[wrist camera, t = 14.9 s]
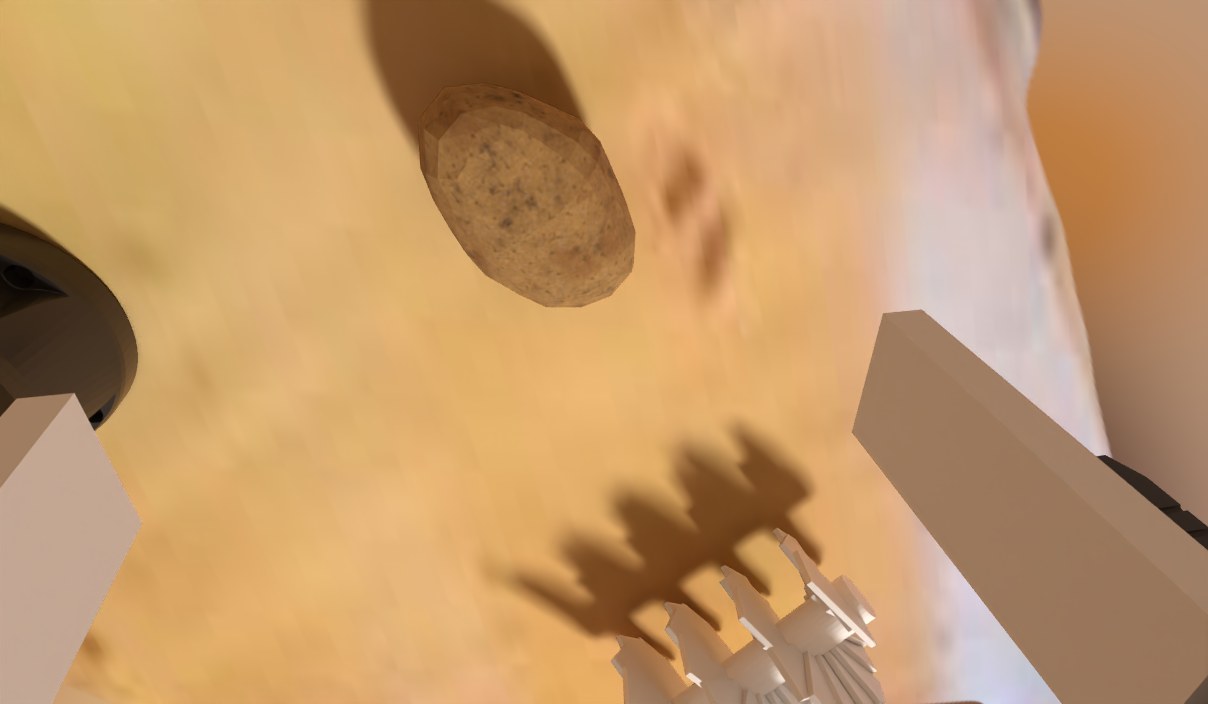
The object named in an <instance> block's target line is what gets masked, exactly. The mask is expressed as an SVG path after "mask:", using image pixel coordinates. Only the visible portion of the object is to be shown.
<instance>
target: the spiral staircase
mask: <svg viewBox="0 0 1208 704" xmlns="http://www.w3.org/2000/svg"><path fill="white" fill-rule="evenodd" d="M773 532H774V534H775V535H776V537H777V538H778V540H779V541H780V545H779V547H780V548H781V549H782V551H783V552H784V553H785V554H786V556H787V557H788V558H789V559H790V560H791V562H792V563H793V564H794V565H795V567H796V568H797V569H798V571H799V573H800V575H801V577H802V580H803V582H804V584H805V586H804V589H805V590H806V591H805V592H806V594H807V595H805V596H804V599H805V601H806V602H804V603H803V604H801V605H800V606H799V607H797V608H796V609H795V610H793V611H792V612H791V613H789V614H788V615H786V616H785V617H784V618H782V619H781V620H780V618H779V617H778V616H777V614H776V613H775V612H774V610H773V609H772V608H771V606H770V604H769V602H768V601H767V600H766V599H765V598H764V597H763V596H762V595H761V594H760V593H759V592H758V591H757V590H756V589H755V588H754V587H753V586H752V585H751V584H750V582H749V581H748V579H747V577H745V576H744V575H742V574H740V573H738V572H737V571H735V570H733V569H731V568H730V567H728V566H726V565H724V566H722V567H721V570H722V572H723V573H724V575H725V577H726V578H724V579H723V580H722V581H720V584H721V585H722V586H723V588H724V589H725V590H726V592H727V593H728V595H729V596H730V597H731V599H732V600H733V601H734V603H735V606H736V611H737V615H738V620H739V621H740V622H741V623H742V624H743V625H744V626H745V627H746V628H747V629H748V630H749V631H750V632H751V634H752V637H753V639H754V640H752V641H751V642H750V643H748V644H747V645H746V646H744V647H743V648H741V649H740V650H739V651H737V652H736V653H735V654H733V653H732V652H731V650H730V649H729V648H728V647H727V645H726V644H725V643H724V642H723V640H722V639H721V638H720V637H719V635H718V634H717V633H716V632H715V630H714V629H713V628H712V627H711V625H710V624H709V623H708V622H706V621H705V620H704V619H703V618H702V617H700V616H699V615H698V614H697V613H695V612H694V611H693V610H692V609H691V608H689V607H688V606H687V605H686V604H684V603H681V604H677V603H671V602H666V603H665V604H664V607H665V609H666V611H667V612H668V614H669V616H670V620H669V622H668V624H667V626H666V628H665V631H666V632H667V634H668V635H669V636H670V637H671V639H672V640H673V641H674V643H675V644H676V645H677V646H678V648H679V649H680V652H681V657H682V661H683V666H684V670H685V675H686V676H687V677H688V678H689V679H691V680H692V681H693V682H695V683H694V684H692V685H691V686H690V687H687V685H686V684H685V683H684V681H683V680H682V679H681V677H680V676H679V674H678V673H677V672H676V670H675V669H674V668H673V666H672V665H671V663H670V662H669V661H668V659H667V658H664V657H663V656H662V655H661V654H660V653H658V652H657V651H656V650H655V649H654V648H653V647H651V646H650V645H649V644H648V643H647V642H645V641H644V640H643V639H642V638H641V637H638V638H633V637H628V636H624V635H619V636H617V637H616V638H617V641H618V643H619V646H620V648H621V649H620V651H619V652H618V653H617V654H616V655H615V656H614V658H613V659H612V660H611V662H612V664H613V665H614V667H615V668H616V669H617V671H618V672H619V674H620V675H621V677H622V678H623V692H624V704H886V701H885V698H884V694H883V691H882V688H881V685H880V682H879V681H878V680H877V679H876V678H875V677H874V675H873V674H872V673H874V672H875V671H876V669H875V667H874V665H873V664H872V662H871V660H870V658H869V657H868V655H867V653H866V651H865V650H864V648H863V646H864V647H865V646H866V645H869V646H870V647H871V648H872V647H874V646H875V645H876V643H875V641H874V639H873V637H872V635H871V633H870V632H869V630H868V628H867V626H866V624H867V623H869V622H870V621H871V620H873V619H874V618H876V615H875V612H874V610H873V609H872V607H871V605H870V604H869V602H868V601H867V600H866V598H865V597H864V596H863V594H862V593H861V592H860V590H859V589H858V588H857V587H856V586H855V585H854V584H853V582H852V581H851V580H850V579H849V578H847V577H846V576H845V575H841V576H840V577H838V578H837V579H836V580H834V581H833V582H830V581H829V580H828V579H827V578H826V577H824V576H823V575H822V574H821V573H820V571H819V569H818V567H817V565H816V563H815V562H814V561H813V560H812V559H811V558H810V557H809V556H808V555H807V554H805V552H804V551H803V549H802V548H801V546H800V545H799V543H798V542H797V540H796V539H795V538H793V537H791V536H790V535H789V534H787V533H785V532H783V531H782V530H780V529H778V528H776V529H775V530H773Z"/></svg>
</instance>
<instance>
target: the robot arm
mask: <svg viewBox="0 0 1208 704" xmlns="http://www.w3.org/2000/svg"><path fill="white" fill-rule="evenodd" d="M137 363H138V352H137V345H136V339H135V336H134V333H133V330H132V327H131V325H130V322H129V320H128V318H127V316H126V314H125V313H124V311H123V309H122V308H121V306H120V305H119V303H118V302H117V300H116V299H115V298H114V296H113V295H112V294H111V293H110V291H109V290H108V289H107V288H106V287H105V286H104V285H103V284H102V283H101V282H100V281H99V280H98V279H97V278H96V277H95V276H94V275H93V274H92V273H91V272H90V271H88V270H87V269H86V268H85V267H84V266H82V265H81V264H80V263H78V262H77V261H76V260H74V259H73V258H71V257H70V256H69V255H67V254H66V253H64V252H62V251H61V250H59V249H58V248H56V247H54V246H52V245H50V244H49V243H47V242H45V241H43V240H41V239H39V238H37V237H35V236H33V235H30V234H28V233H26V232H23V231H21V230H18V229H15V228H13V227H10V226H7V225H4V224H1V223H0V704H52V702H53V700H54V698H55V696H56V694H57V692H58V690H59V688H60V686H61V684H62V682H63V680H64V678H65V676H66V674H67V672H68V670H69V668H70V666H71V664H72V662H73V660H74V658H75V656H76V654H77V652H78V650H79V648H80V646H81V644H82V642H83V640H84V638H85V636H86V634H87V632H88V630H89V628H90V627H91V625H92V623H93V621H94V619H95V617H96V615H97V613H98V611H99V609H100V607H101V605H102V603H103V601H104V599H105V597H106V595H107V593H108V591H109V589H110V587H111V585H112V583H113V581H114V579H115V577H116V575H117V573H118V571H119V569H120V567H121V565H122V563H123V561H124V559H125V557H126V555H127V553H128V551H129V549H130V547H131V545H132V543H133V541H134V539H135V537H136V535H137V533H138V531H139V529H140V527H141V525H142V521H141V519H140V518H139V516H138V514H137V512H136V510H135V508H134V506H133V504H132V502H131V500H130V498H129V497H128V495H127V493H126V491H125V489H124V487H123V485H122V483H121V481H120V479H119V477H118V475H117V474H116V472H115V470H114V468H113V466H112V464H111V462H110V460H109V458H108V456H107V454H106V453H105V451H104V449H103V447H102V445H101V443H100V441H99V439H98V437H97V435H96V433H95V432H94V431H96V430H97V429H98V428H99V427H100V426H101V425H103V424H104V423H105V422H106V421H107V420H108V419H109V418H110V416H111V415H112V414H113V413H114V411H115V410H116V408H117V407H118V406H119V404H120V403H121V401H122V400H123V399H124V397H125V396H126V395H127V393H128V391H129V390H130V388H131V386H132V384H133V381H134V378H135V375H136V371H137ZM852 433H853V434H854V436H855V437H856V438H857V439H858V441H859V442H860V443H861V445H862V446H863V447H864V448H865V450H866V451H867V452H868V454H869V455H870V456H871V458H872V459H873V460H874V461H875V463H876V464H877V465H878V467H879V468H880V469H881V470H882V472H883V473H884V474H885V476H886V477H887V478H888V479H889V481H890V482H891V483H892V485H893V486H894V487H895V489H896V490H897V491H898V492H899V494H900V495H901V496H902V498H903V499H904V500H905V501H906V503H907V504H908V505H909V507H910V508H911V509H912V510H913V512H914V513H915V514H916V516H917V517H918V518H919V520H920V521H921V522H922V523H923V525H924V526H925V527H926V529H927V530H928V531H929V532H930V534H931V535H932V536H933V538H934V539H935V540H936V542H937V543H938V544H939V545H940V547H941V548H942V549H943V551H944V552H945V553H946V554H947V556H948V557H949V558H950V560H951V561H952V562H953V563H954V565H955V566H956V567H957V569H958V570H959V571H960V573H961V574H962V575H963V576H964V578H965V579H966V580H967V582H968V583H969V584H970V585H971V587H972V588H973V589H974V591H975V592H976V593H977V594H978V596H979V597H980V598H981V600H982V601H983V602H984V604H985V605H986V606H987V607H988V609H989V610H990V611H991V613H992V614H993V615H994V616H995V618H996V619H997V620H998V622H999V623H1000V624H1001V626H1002V627H1003V628H1004V629H1005V631H1006V632H1007V633H1008V635H1009V636H1010V637H1011V638H1012V640H1013V641H1014V642H1015V644H1016V645H1017V646H1018V647H1019V649H1020V650H1021V651H1022V653H1023V654H1024V655H1025V657H1026V658H1027V659H1028V660H1029V662H1030V663H1031V664H1032V666H1033V667H1034V668H1035V669H1036V671H1037V672H1038V673H1039V675H1040V676H1041V677H1042V678H1043V680H1044V681H1045V682H1046V684H1047V685H1048V686H1049V688H1050V689H1051V690H1052V691H1053V693H1054V694H1055V695H1056V697H1057V698H1058V699H1059V700H1060V702H1061V703H1062V704H1208V527H1207V526H1206V525H1205V524H1203V523H1202V522H1201V521H1200V520H1198V519H1197V518H1196V517H1195V516H1194V515H1192V514H1191V513H1190V512H1189V511H1183V510H1182V509H1181V507H1180V504H1179V503H1178V502H1176V501H1175V500H1174V499H1173V498H1171V497H1170V496H1169V495H1168V494H1166V493H1165V492H1164V491H1163V490H1162V489H1160V488H1159V487H1158V486H1157V485H1155V484H1154V483H1153V482H1152V481H1151V480H1149V479H1148V478H1147V477H1145V476H1143V475H1141V474H1140V473H1138V472H1136V471H1134V470H1132V469H1130V468H1128V467H1126V466H1125V465H1123V464H1121V463H1119V462H1117V461H1115V460H1113V459H1112V458H1110V457H1108V456H1106V455H1103V456H1095V455H1094V454H1093V453H1091V452H1090V451H1089V450H1088V449H1087V448H1086V447H1084V446H1083V445H1082V444H1081V443H1080V442H1078V441H1077V440H1076V439H1075V438H1074V437H1072V436H1071V435H1070V434H1069V433H1068V432H1067V431H1065V430H1064V429H1063V428H1062V427H1061V426H1059V425H1058V424H1057V423H1056V422H1055V421H1053V420H1052V419H1051V418H1050V417H1049V416H1048V415H1046V414H1045V413H1044V412H1043V411H1042V410H1040V409H1039V408H1038V407H1037V406H1036V405H1034V404H1033V403H1032V402H1031V401H1030V400H1029V399H1027V398H1026V397H1025V396H1024V395H1023V394H1021V393H1020V392H1019V391H1018V390H1017V389H1015V388H1014V387H1013V386H1012V385H1011V384H1010V383H1008V382H1007V381H1006V380H1005V379H1004V378H1002V377H1001V376H1000V375H999V374H998V373H996V372H995V371H994V370H993V369H992V368H991V367H989V366H988V365H987V364H986V363H985V362H983V361H982V360H981V359H980V358H979V357H977V356H976V355H975V354H974V353H973V352H972V351H970V350H969V349H968V348H967V347H966V346H964V345H963V344H962V343H961V342H960V341H958V340H957V339H956V338H955V337H954V336H953V335H951V334H950V333H949V332H948V331H947V330H945V329H944V328H943V327H942V326H941V325H939V324H938V323H937V322H936V321H935V320H933V319H932V318H931V317H930V316H929V315H928V314H926V313H925V312H924V311H923V310H913V311H903V312H893V313H883V316H882V320H881V323H880V327H879V331H878V335H877V339H876V342H875V346H874V350H873V354H872V358H871V362H870V365H869V369H868V373H867V377H866V381H865V384H864V388H863V392H862V396H861V400H860V403H859V407H858V411H857V415H856V419H855V423H854V426H853V430H852Z"/></svg>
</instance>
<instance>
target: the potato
mask: <svg viewBox="0 0 1208 704" xmlns="http://www.w3.org/2000/svg"><path fill="white" fill-rule="evenodd" d="M418 133H419V151H420V168H421V170H422V173H423V175H424V178H425V180H426V183H427V185H428V188H429V190H430V193H431V195H432V198H433V200H434V202H435V204H436V206H437V207H438V209H439V211H440V212H441V214H442V216H443V217H444V219H445V221H446V223H447V224H448V226H449V228H450V229H451V231H452V233H453V234H454V236H455V237H456V239H457V240H458V242H459V243H460V245H461V246H462V248H463V249H464V251H465V252H466V254H467V255H468V256H469V257H470V258H471V259H472V261H473V262H474V263H475V264H476V265H477V266H478V267H479V268H480V270H481V271H482V272H483V273H484V274H485V275H486V276H488V277H490V278H491V279H493V280H495V281H497V282H498V283H500V284H502V285H504V286H505V287H507V288H509V289H510V290H512V291H514V292H516V293H517V294H519V295H521V296H523V297H526V298H528V299H530V300H532V301H534V302H536V303H538V304H540V305H543V306H545V307H583V306H586V305H588V304H591V303H593V302H596V301H598V300H601V299H603V298H606V297H609V296H611V295H612V294H613V292H614V291H615V290H616V289H617V288H618V287H619V286H620V284H621V283H622V282H623V281H624V280H625V279H626V278H627V276H628V275H629V274H630V273H631V272H632V268H633V263H634V247H635V229H634V226H633V223H632V220H631V216H630V213H629V210H628V207H627V204H626V201H625V198H624V196H623V193H622V190H621V188H620V186H619V183H618V181H617V179H616V177H615V174H614V172H613V170H612V167H611V165H610V163H609V160H608V158H607V156H606V153H605V151H604V149H603V147H602V144H601V142H600V141H599V140H598V139H597V137H596V136H595V135H594V134H593V133H592V132H591V131H590V130H589V129H588V128H587V127H586V126H585V125H584V123H583V122H582V121H581V120H580V119H579V118H577V117H575V116H573V115H570V114H568V113H566V112H564V111H562V110H559V109H557V108H555V107H553V106H550V105H548V104H546V103H544V102H541V101H539V100H537V99H535V98H532V97H530V96H528V95H526V94H523V93H521V92H519V91H515V90H511V89H507V88H503V87H499V86H495V85H492V84H488V83H476V84H467V85H458V86H449V87H444V89H443V90H442V91H441V92H440V94H439V95H438V96H437V97H436V99H435V100H434V101H433V102H432V104H431V105H430V106H429V107H428V109H427V110H426V111H425V112H424V114H423V115H422V116H421V117H420V119H419V120H418Z"/></svg>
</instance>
